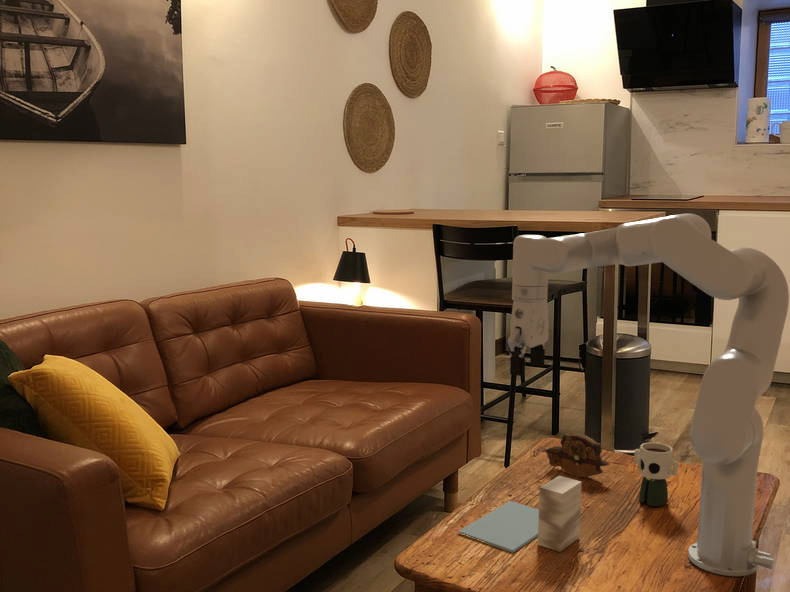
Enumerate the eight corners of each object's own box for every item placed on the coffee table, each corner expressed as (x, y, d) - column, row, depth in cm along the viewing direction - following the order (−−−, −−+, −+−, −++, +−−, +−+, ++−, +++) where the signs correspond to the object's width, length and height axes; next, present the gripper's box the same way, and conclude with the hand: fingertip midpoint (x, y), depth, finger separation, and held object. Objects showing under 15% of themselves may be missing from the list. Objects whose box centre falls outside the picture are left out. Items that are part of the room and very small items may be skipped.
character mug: (623, 499, 186) (626, 444, 183) (641, 491, 190) (644, 437, 188) (665, 515, 177) (668, 457, 175) (683, 506, 182) (687, 450, 179)
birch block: (579, 538, 166) (581, 481, 164) (560, 553, 160) (562, 493, 158) (557, 531, 169) (559, 475, 167) (537, 545, 163) (539, 487, 161)
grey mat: (562, 519, 175) (562, 516, 175) (513, 553, 159) (513, 550, 159) (509, 503, 183) (509, 500, 183) (458, 533, 168) (458, 531, 167)
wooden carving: (541, 470, 203) (542, 431, 201) (549, 465, 206) (551, 427, 205) (604, 486, 193) (606, 445, 191) (612, 480, 197) (614, 440, 195)
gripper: (527, 299, 167) (525, 381, 169) (562, 289, 181) (559, 364, 183) (495, 296, 171) (493, 375, 173) (531, 286, 185) (529, 360, 188)
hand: (527, 370), depth 178 cm, fingers open, 9 cm apart
